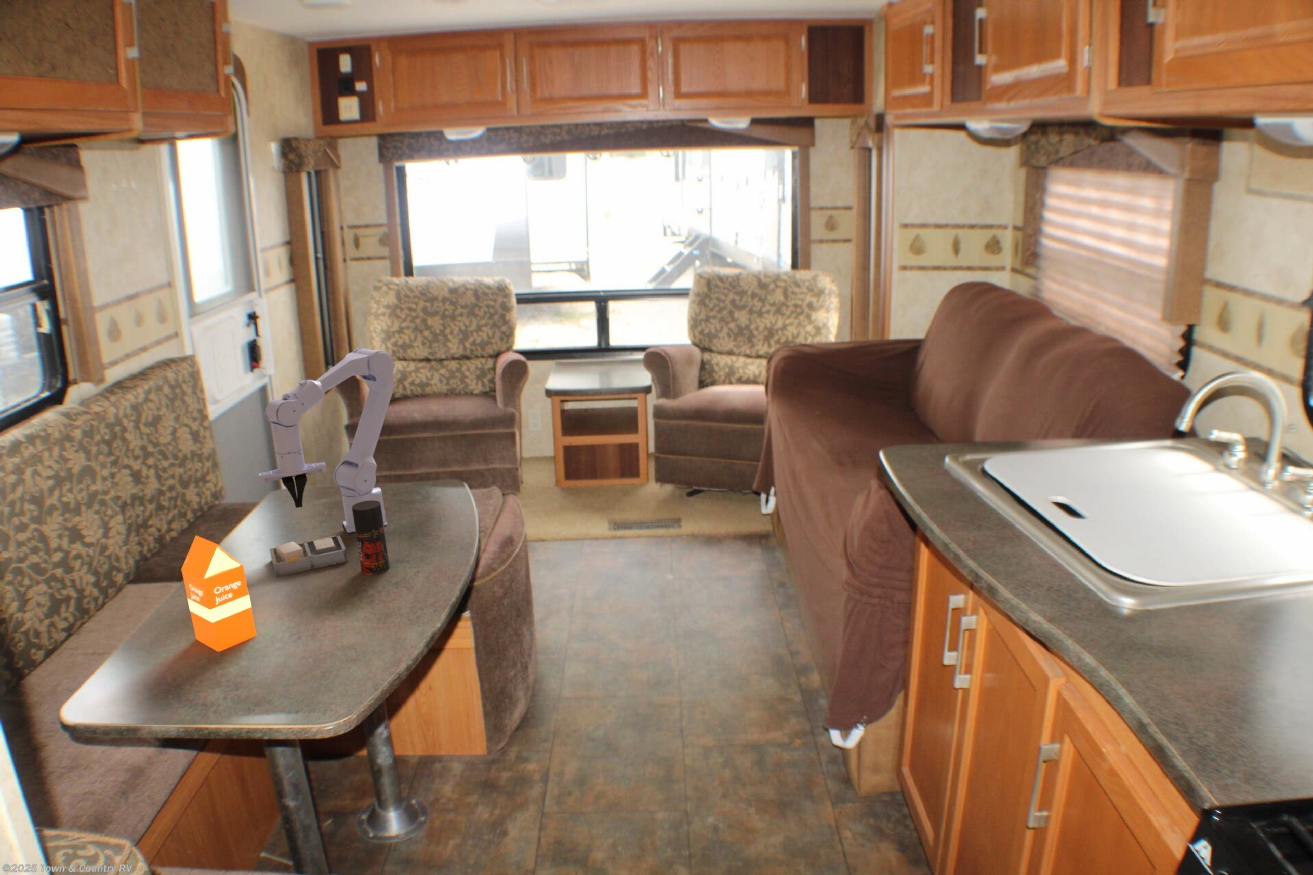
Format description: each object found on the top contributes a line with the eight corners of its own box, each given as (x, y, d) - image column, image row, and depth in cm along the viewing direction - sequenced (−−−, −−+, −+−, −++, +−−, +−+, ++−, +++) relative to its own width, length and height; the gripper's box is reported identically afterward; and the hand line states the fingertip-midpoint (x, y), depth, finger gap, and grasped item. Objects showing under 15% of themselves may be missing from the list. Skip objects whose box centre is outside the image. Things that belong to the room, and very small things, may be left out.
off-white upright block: (296, 555, 216) (293, 541, 215) (304, 562, 212) (302, 548, 211) (278, 560, 214) (275, 546, 213) (286, 568, 210) (284, 553, 209)
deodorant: (355, 572, 206) (345, 508, 202) (375, 562, 211) (365, 499, 207) (376, 576, 204) (366, 511, 200) (395, 566, 209) (386, 502, 205)
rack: (340, 545, 222) (338, 532, 221) (348, 561, 213) (345, 547, 212) (271, 560, 216) (269, 546, 215) (275, 577, 206) (273, 562, 205)
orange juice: (234, 623, 186) (215, 528, 180) (257, 635, 180) (238, 537, 175) (195, 639, 180) (174, 542, 174) (217, 652, 174) (197, 552, 169)
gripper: (320, 441, 223) (328, 495, 227) (254, 451, 217) (264, 507, 221) (324, 448, 217) (332, 503, 221) (256, 459, 211) (266, 516, 215)
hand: (298, 506), depth 221 cm, fingers closed
